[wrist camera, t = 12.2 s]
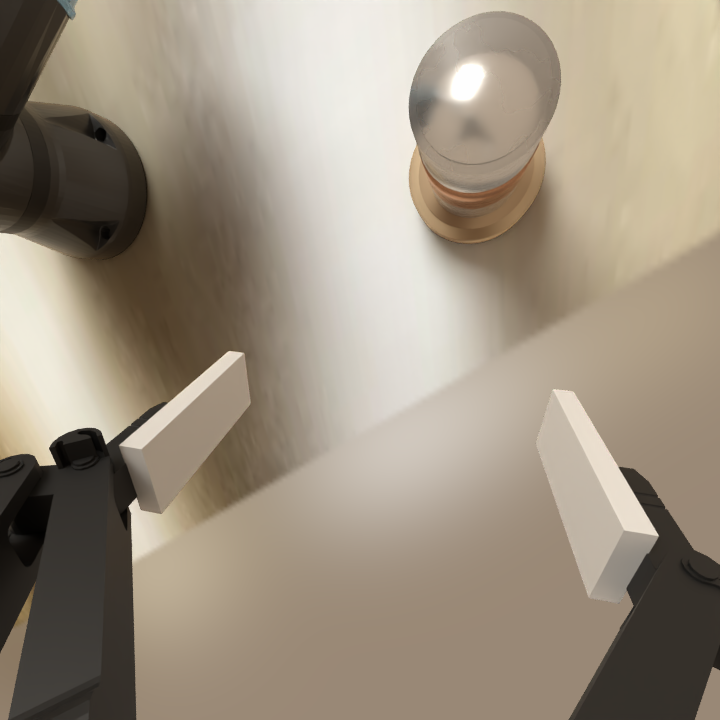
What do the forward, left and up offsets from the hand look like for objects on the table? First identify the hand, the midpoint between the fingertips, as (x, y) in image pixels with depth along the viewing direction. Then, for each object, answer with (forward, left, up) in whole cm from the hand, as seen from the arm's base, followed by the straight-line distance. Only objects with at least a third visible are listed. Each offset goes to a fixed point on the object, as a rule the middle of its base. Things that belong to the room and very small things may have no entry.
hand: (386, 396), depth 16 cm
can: (+2, +14, -16) cm, 21 cm away
